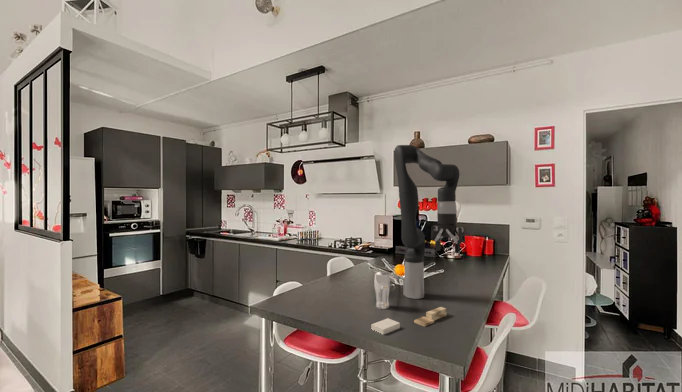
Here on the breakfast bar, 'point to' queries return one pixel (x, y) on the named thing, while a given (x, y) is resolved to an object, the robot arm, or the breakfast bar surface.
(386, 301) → the beer glass
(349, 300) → the breakfast bar surface
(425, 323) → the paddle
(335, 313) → the breakfast bar surface
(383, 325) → the tile
